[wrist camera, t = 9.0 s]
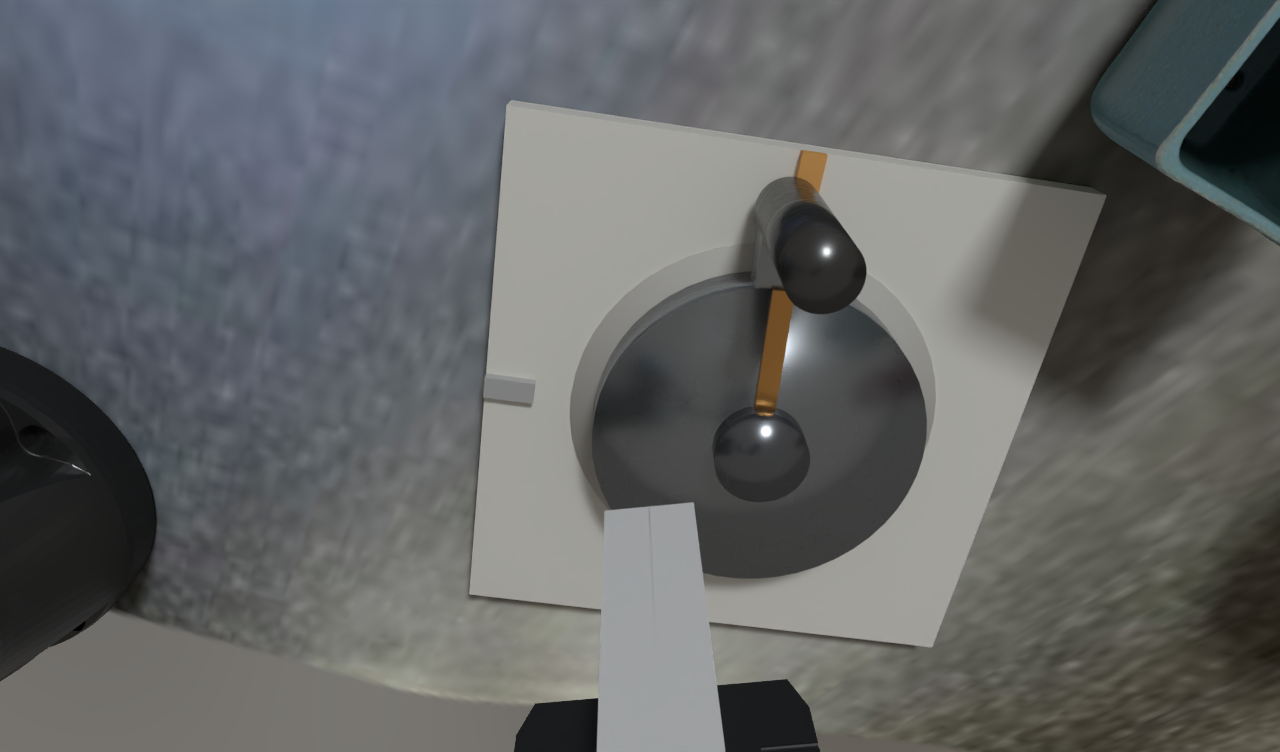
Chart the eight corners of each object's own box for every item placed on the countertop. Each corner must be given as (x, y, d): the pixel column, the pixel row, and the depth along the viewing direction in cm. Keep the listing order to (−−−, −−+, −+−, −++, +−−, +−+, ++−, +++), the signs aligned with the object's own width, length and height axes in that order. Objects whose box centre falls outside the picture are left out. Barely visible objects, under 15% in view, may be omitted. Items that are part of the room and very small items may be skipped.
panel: (473, 577, 41) (467, 600, 40) (511, 99, 32) (504, 107, 30) (924, 629, 43) (934, 653, 41) (1091, 187, 33) (1112, 198, 32)
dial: (877, 558, 39) (927, 686, 32) (586, 539, 38) (574, 665, 32) (969, 187, 32) (1058, 252, 25) (609, 159, 31) (601, 218, 24)
